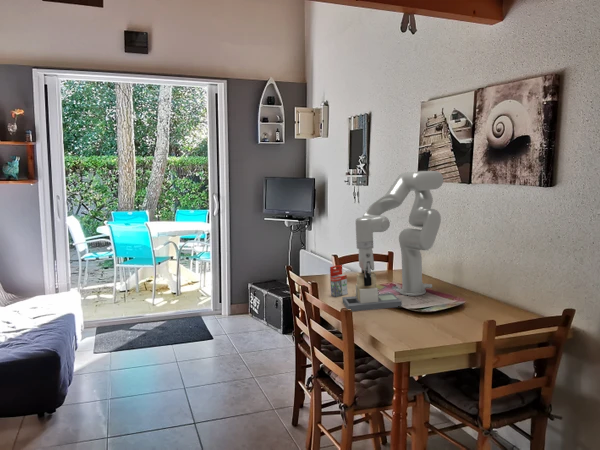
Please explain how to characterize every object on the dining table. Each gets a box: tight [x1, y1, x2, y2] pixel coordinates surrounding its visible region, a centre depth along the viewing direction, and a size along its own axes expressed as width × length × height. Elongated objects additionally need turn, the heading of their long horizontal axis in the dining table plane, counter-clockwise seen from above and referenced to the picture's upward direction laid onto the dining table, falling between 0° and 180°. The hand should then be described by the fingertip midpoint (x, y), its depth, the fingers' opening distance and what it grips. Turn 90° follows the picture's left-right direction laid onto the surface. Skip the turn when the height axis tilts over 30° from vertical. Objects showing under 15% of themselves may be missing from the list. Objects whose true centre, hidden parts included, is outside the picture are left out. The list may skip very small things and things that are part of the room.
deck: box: [341, 292, 403, 312], centre depth 219 cm, size 24×14×3 cm, turn 96°
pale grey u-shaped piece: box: [355, 284, 379, 303], centre depth 218 cm, size 8×9×6 cm
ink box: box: [329, 264, 349, 298], centre depth 236 cm, size 4×8×15 cm, turn 123°
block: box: [356, 271, 377, 301], centre depth 217 cm, size 8×4×12 cm, turn 96°
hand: (366, 283), depth 217 cm, fingers closed on block, 4 cm apart
